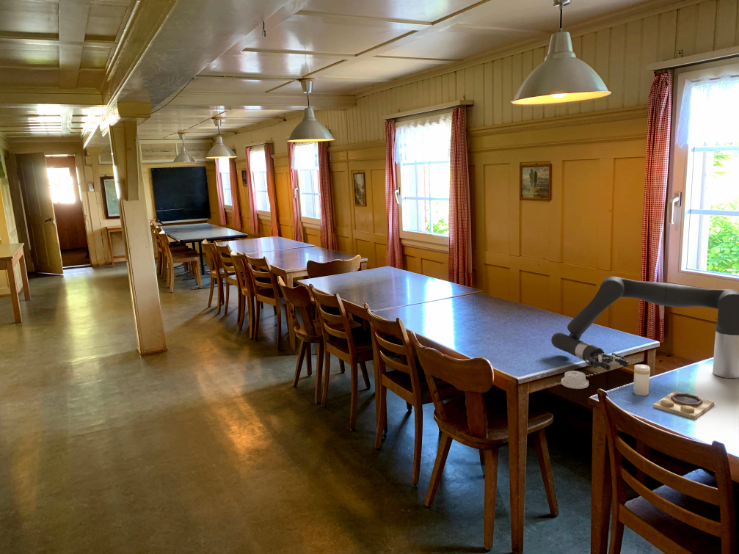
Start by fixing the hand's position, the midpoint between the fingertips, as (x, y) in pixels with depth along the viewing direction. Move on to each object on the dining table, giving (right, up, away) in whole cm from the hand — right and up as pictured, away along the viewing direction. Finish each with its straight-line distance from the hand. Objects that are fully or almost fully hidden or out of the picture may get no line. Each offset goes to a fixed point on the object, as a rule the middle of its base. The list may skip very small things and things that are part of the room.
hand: (618, 366), depth 205 cm
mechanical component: (-16, -8, +2) cm, 18 cm away
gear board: (+12, -10, -22) cm, 27 cm away
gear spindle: (+4, -8, -9) cm, 13 cm away
